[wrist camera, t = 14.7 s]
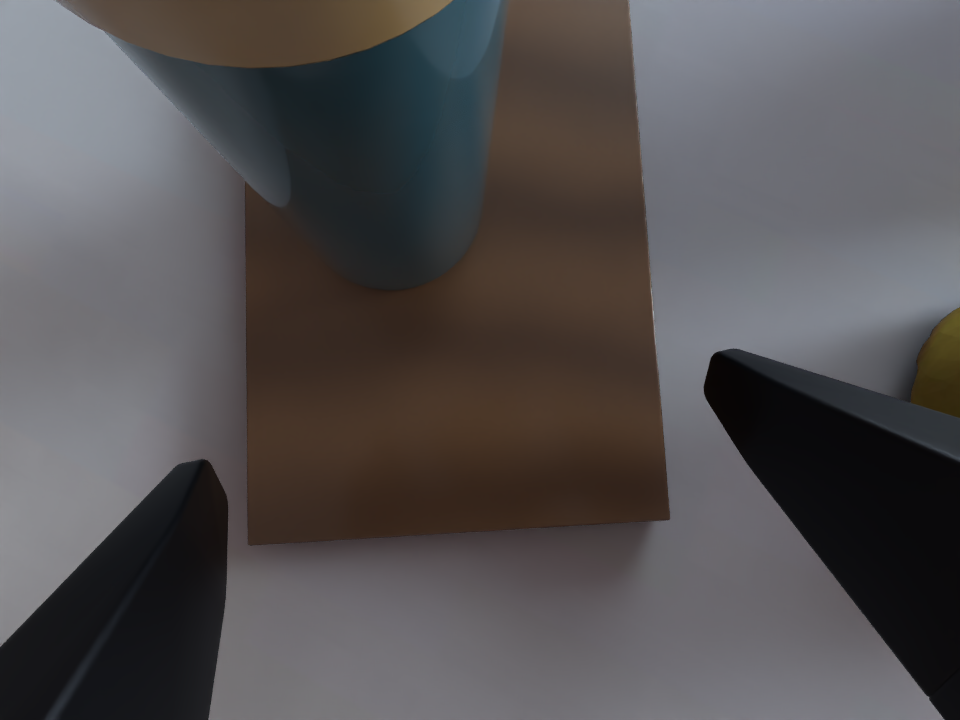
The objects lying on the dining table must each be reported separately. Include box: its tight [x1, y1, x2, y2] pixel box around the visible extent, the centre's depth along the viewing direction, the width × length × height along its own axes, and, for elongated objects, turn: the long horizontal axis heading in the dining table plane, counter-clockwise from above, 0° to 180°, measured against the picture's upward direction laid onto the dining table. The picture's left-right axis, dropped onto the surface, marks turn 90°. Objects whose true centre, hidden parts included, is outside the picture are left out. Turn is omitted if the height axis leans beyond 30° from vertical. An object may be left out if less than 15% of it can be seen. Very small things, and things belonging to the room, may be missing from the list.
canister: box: [55, 0, 509, 290], centre depth 11 cm, size 7×7×14 cm
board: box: [245, 0, 670, 546], centre depth 18 cm, size 22×14×1 cm, turn 3°
